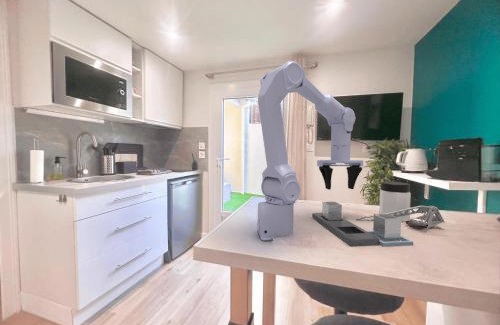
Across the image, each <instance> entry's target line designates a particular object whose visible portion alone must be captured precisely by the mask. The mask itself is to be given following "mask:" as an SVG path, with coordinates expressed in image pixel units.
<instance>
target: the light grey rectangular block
mask: <svg viewBox="0 0 500 325" xmlns="http://www.w3.org/2000/svg"><path fill="white" fill-rule="evenodd" d="M373 216H374V217H373V219H374V221H372V222H373V223H372V224H373V227H372V231H373V235H374V236H376V237H378V238H379V239H380V240H381V241H383V242H390V241H401V240H400V236H401V232H402V231H401V230H402V229H401V228H402V222H401V219H400V218H398V217H395V216H392V215H390V214H379V213H378V214H377V213H373Z"/></svg>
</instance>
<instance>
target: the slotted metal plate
mask: <svg viewBox="0 0 500 325" xmlns="http://www.w3.org/2000/svg"><path fill="white" fill-rule="evenodd" d="M311 217H312V219H313V220H314V221H315V222H317V223H318V224H320V225H321V226H323V227H324V228H325V229H327V230H328V231H329V232H330V233H332V235H334V236H336V237H337V238H338V239H339V240H341V241H342V242H343V243H345V244H346V245H347V246H348V247H350V248H351V247H366V246H367V247H371V246H374V247H375V246H380V245H379V240H380V239H379V238H378V237H376V236H374V235H372V234H370V233H369V232H367V231H368V230H365V229H363V228H362V227H360V226H358V225H356V224H355V223H352V222H351V221H349V220H348V219H345V218H343V217H342V216H341V221H326V220H325V219H323V218H322V212H312V213H311Z"/></svg>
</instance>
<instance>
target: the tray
mask: <svg viewBox="0 0 500 325" xmlns="http://www.w3.org/2000/svg"><path fill="white" fill-rule="evenodd" d="M366 231H367V232H369V233H370V234H372V235H373V230H366ZM378 246H381V247H403V246H404V247H406V246H414V241H413V240H411V239H409V238H406V237H404V236H402V235H400V241H390V242H383V241H381V240H379V245H378Z"/></svg>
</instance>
